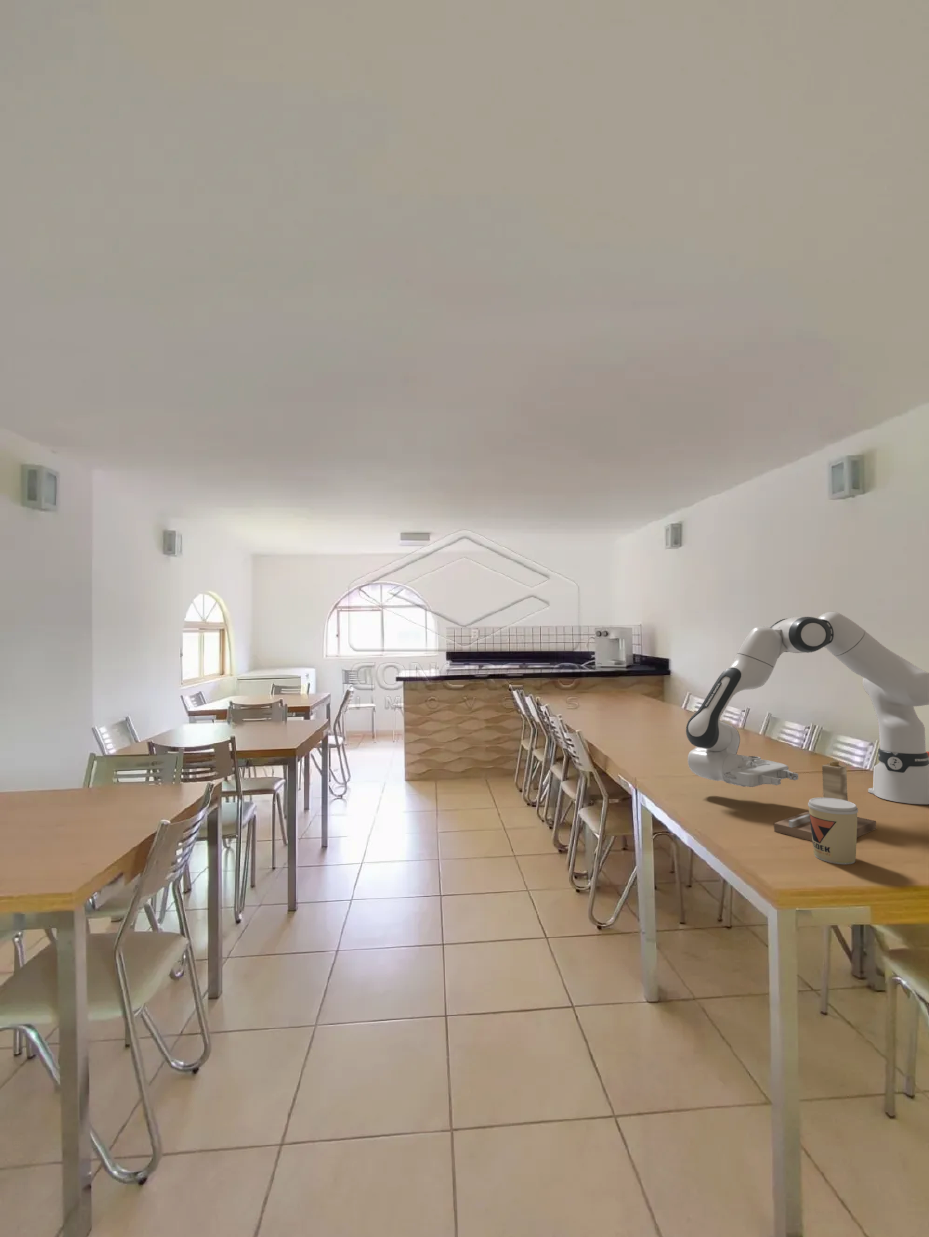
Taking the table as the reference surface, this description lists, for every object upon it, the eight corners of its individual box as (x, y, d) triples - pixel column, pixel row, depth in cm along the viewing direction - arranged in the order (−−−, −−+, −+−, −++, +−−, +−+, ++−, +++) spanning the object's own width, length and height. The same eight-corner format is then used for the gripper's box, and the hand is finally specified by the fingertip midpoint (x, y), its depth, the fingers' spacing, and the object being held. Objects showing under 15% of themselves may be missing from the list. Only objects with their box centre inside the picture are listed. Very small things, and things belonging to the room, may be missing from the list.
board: (817, 815, 158) (816, 802, 158) (876, 828, 147) (875, 814, 147) (774, 831, 146) (773, 817, 146) (834, 847, 134) (834, 831, 135)
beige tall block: (831, 813, 153) (829, 759, 153) (851, 817, 149) (849, 762, 149) (824, 816, 150) (822, 761, 151) (844, 820, 146) (842, 764, 147)
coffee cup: (800, 851, 132) (798, 797, 133) (839, 849, 133) (837, 796, 133) (828, 866, 123) (826, 809, 123) (870, 865, 124) (868, 807, 124)
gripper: (719, 763, 166) (767, 772, 154) (758, 755, 177) (806, 763, 165) (720, 786, 165) (768, 796, 154) (759, 776, 177) (807, 785, 165)
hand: (788, 779), depth 160 cm, fingers open, 8 cm apart
